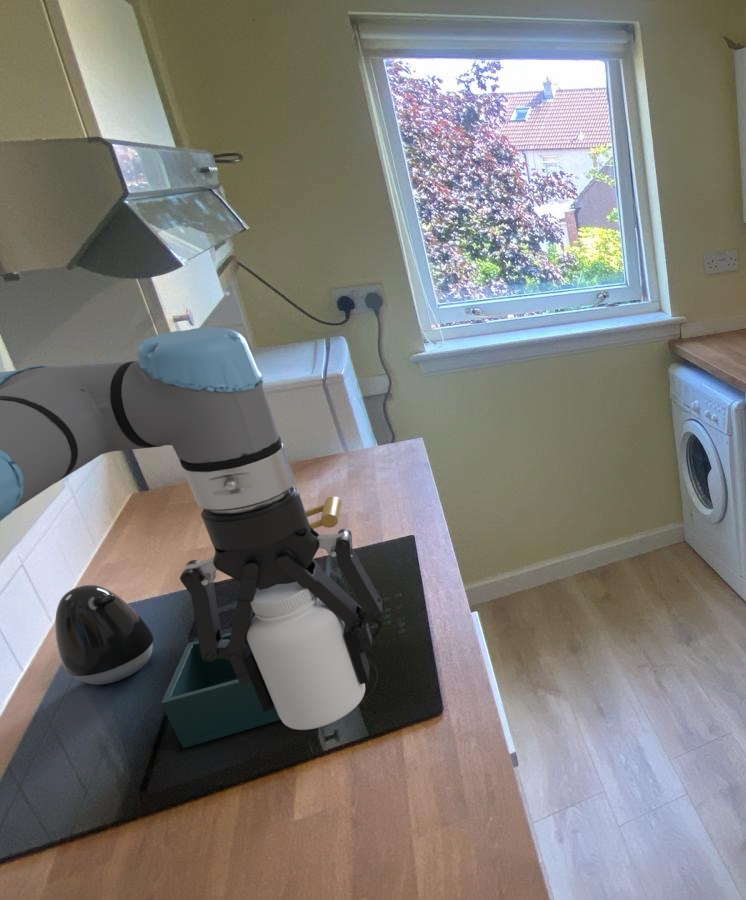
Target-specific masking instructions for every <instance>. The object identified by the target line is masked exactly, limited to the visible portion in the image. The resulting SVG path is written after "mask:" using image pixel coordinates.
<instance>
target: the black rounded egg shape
mask: <svg viewBox="0 0 746 900" xmlns="http://www.w3.org/2000/svg"><path fill="white" fill-rule="evenodd" d="M54 624H55V625H54V629H55V631H54V632H55V642H56V647H57V652H58V655H59V660H60V663H61V665H62V667H63V669H64V671H65V673H67V674H68V675H70V676H73V678H75V679H76V680H78V681H80V682H82V683H85V684H90V685H107V684H113V683H115V682H119V681H122V680H125V679H126V678H128V677H131V676H132V675H134V674H135V673H137V672H138V671H140V670H141V669H142V668H143V667H144V666H145V665H146V664H147V663H148V661H149V660H150V658H151V656H152V653H153V648H154V647H153V643H154V635H153V632H152V630H151V629H150V627H149V625H147V623H146V622H145V621H144V619H143V618H142V617H141V616H140V615H139V614H138V612H137V611H135V610H134V608H132V607H131V606H130V605H129V604H128V603H127V602H126V601H125V600H124V599H123V598H121V597H120V596H119V595H117V594H116V593H114V592H113V591H111V590H109V589H107V588H105V587H103V586H100V585H95V584H85V585H79V586H77V587H74V588H72V589H70V590H69V591H67V592H66V593H65V594H64V595H62V597H61V598H60V599H59V602H58V605H57V607H56V611H55V620H54Z"/></svg>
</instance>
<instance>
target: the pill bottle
mask: <svg viewBox="0 0 746 900" xmlns="http://www.w3.org/2000/svg"><path fill="white" fill-rule="evenodd" d="M251 606H252V609H253V612H252V613H254V616H252V617H251V621H250V623H249V626H248V630H247V640H248V643H249V646H250V648H251V650H252V653H253V655H254V658H255V660H256V662H257V665H258V667H259V670H260V672H261V674H262V677H263V679H264V682H265V684H266V686H267V689H268V691H269V694H270V696H271V698H272V701H273V703H274V706H275V708H276V710H277V713H278V715H279V717H280V719H281V720H280V721H281V722H282V724H284V726H286V727H288V728H290V729H293V730H297V731H298V730H300V731H306V730H313V729H314V730H315V729H318V728H322V727H325V726H327V725H330V724H332V723H334V722H337V721H338V720H340V719H343V718H344V717H345V716H347V715H348V714H350V713H351V712H353V710H354V709H355V708H356V707H358V705H359V704H360V703H361V701H362V700H363V698H364V696H365V692H366V683H364V684H360V681H359V678H358V675H357V672H356V669H355V666H354V663H353V660H352V657H351V654H350V651H349V648H348V645H347V642H346V639H345V636H344V630H345V622H344V621H343V620H342V619H341V618H339V617H338V616H337V615H336V614H335V613H334V612H333V611H332V610H331V609H330V608H328V607H327V606H326V605H325V604H324V603H323V602H322V601H321V600H320V599H319V598H317V597H316V596H315V595H314V594H313V593H312V592H311V591H310V590H309V589H305V588H303V587H302V586H301V585H300V584H299V583H297V582H293V583H289V584H277V585H274V586H272V587H270V588H267V589H262V590H259V589H258V588H257V591H256V594H255V597H254V600H253V601H251Z"/></svg>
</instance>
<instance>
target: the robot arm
mask: <svg viewBox="0 0 746 900" xmlns="http://www.w3.org/2000/svg"><path fill="white" fill-rule="evenodd" d="M136 355H137V360H130V361H120V362H119V361H117V362H104V363H103V362H101V363H90V364H89V363H88V364H74V365H73V364H72V365H59V366H54V365H53V366H52V365H48V366H46V365H35V366H28V367H25V368H23V369H16V370H6V371H0V522H1V521H3V520H4V519H5V518H6V517H8V516H9V515H10V514H12V513H13V512H15V510H17V509H18V508H20V507H21V506H23V505H24V504H26V503H28V502H29V501H30V500H33V498H35V497H37V496H38V495H39V494H41V493H42V492H44V491H45V490H47V489H48V488H50V487H51V486H54V485H55V484H57V483H58V482H60V481H62V480H63V479H65V478H66V477H68V476H69V475H71V474H72V473H74V472H76V471H77V470H79V469H81V468H82V467H84V466H85V465H87V464H89V463H90V462H92V461H94V460H95V459H96V458H98V457H100V456H101V455H104V454H107V453H112V452H120V451H121V452H122V451H130V450H140V449H141V450H142V449H150V448H151V449H152V448H161V447H163V446H172V448H173V450H174V452H175V454H176V456H177V458H178V461H179V462H180V465H181V468H182V470H183V473H184V475H185V478H186V480H187V483H188V485H189V488H190V491H191V493H192V495H193V497H194V500H195V501H196V502H195V503H196V504H197V506H198V507H199V508H201V509H202V510H201V513H200V516H201V518H202V521H203V524H204V527H205V528H206V532H207V534H208V537H209V539H210V541H211V544H212V546H213V548H214V556H213V557H211V558H210V557H209V558H208V559H205V560H201V561H200V560H199V559H198V560H197V559H192V560H190V561H188V562H187V563H186V565H185V567H184V569H183V570H182V572H181V575H180V576H179V580H180V582H181V583H182V585H183V586H184V587H185V589H186V590H187V592H188V593H189V594H190V597H191V601H192V607H193V615H194V621H195V626H196V633H197V638H198V641H199V645H200V651H201V657H202V659H203V660H204V661H214V660H215V659H216V658H223V659H227V660H229V661H230V662H231V664H232V666H233V669H234V671H235V673H236V676H237V678H238V681H239V682H240V683H241V684H243V685H244V684H248V683H252V684H253V686H254V689H255V691H256V694H257V696H258V699H259V701H260V703H261V706H262V708H263V711H264V712H265V711H268V710H272V709H273V706H274V703H273V701H272V698H271V696H270V694H269V691H268V689H267V686H266V684H265V682H264V679H263V677H262V674H261V672H260V670H259V667H258V665H257V662H256V660H255V658H254V655H253V653H252V650H251V648H250V646H249V645H248V646H246V641H247V630H248V626H249V623H250V621H251V620H252V618H253V613H254V612H253V609H252V606H251V601H253V600H254V597H255V594H256V591H257V588H258V589H259V590H262V589H267V588H270V587H272V586H274V585H277V584H289V583H293V582H297V583H299V584H300V585H301V586H302V587H303V588H305V589H309V590H310V591H311V592H312V593H313V594H314V595H315V596H316V597H317V598H319V599H320V600H321V601H322V602H323V603H324V604H325V605H326V606H327V607H328V608H330V609H331V610H332V611H333V612H334V613H335V614H336V615H337V616H338V617H339V618H341V619H342V620H343V621H344V623H345V630H344V636H345V639H346V642H347V645H348V648H349V651H350V654H351V657H352V660H353V663H354V666H355V669H356V672H357V675H358V678H359V681H360V684H364V683H365V684H368V683H369V682H370V681H369V680H370V671H371V670H370V669H371V668H370V664H369V661H368V657H367V654H366V652H370V651H372V647H373V636H372V633H371V630H370V626H369V622H371V621H372V620H374V621H375V620H378V619H380V618H381V617H382V612H383V611H382V609H383V600H382V598H381V596H380V595H379V592H378V591H377V589H376V587H375V585H374V584H373V582H372V580H371V578H370V577H369V574H368V572H367V571H366V569H365V568H364V566H363V564H362V562H361V561H360V559H359V557H358V555H357V554H356V552H355V550H354V549H353V537H352V536H353V535H352V531H351V530H350V529H348V528H341V529H340V530H338V531H337V533H328V534H319V533H318V532H317V531H316V530H315V529H312V527H311V526H310V521H309V519H308V517H307V516H306V513H305V511H306V510H305V507H304V503H303V501H302V498H301V495H300V492H299V489H298V488H297V487H296V486H293V485H294V484H295V475H294V473H293V471H292V468H291V465H290V462H289V461H290V460H289V459H288V455H287V453H286V450H285V446H284V444H283V442H282V439H281V437H280V434H279V431H278V428H277V425H276V422H275V418H274V415H273V412H272V409H271V405H270V402H269V399H268V396H267V392H266V390H265V386H264V380H263V378H264V377H263V374H262V373H261V372H260V370H259V368H258V366H257V364H256V361H255V359H254V356H253V355H252V352H251V349H250V347H249V345H248V342H247V340H246V338H245V337H244V336H243V335H242V334H241V333H239V331H236V330H234V329H230V328H225V327H215V326H214V327H198V328H197V327H196V328H191V329H186V330H173V331H170V332H168V331H167V332H164V333H159V334H156V335H153V336H150V337H147V338H145V339H143V340H142V341H140V342H139V344H137V348H136ZM319 549H324V550H325V551H326V553H327V555H328V556H330V557H332V558H336V562H337V564H338V567H339V569H340V571H341V572H342V574H343V576H344V577H345V579H346V581H347V583H348V584H349V586H350V588H351V590H352V591H353V593H354V595H355V597H356V598H357V600H358V601H359V602H357V601H356V600H354V599H353V597H351V596H350V595H349V594H348V592H346V591H345V590H344V589H343V588H342V587H341V586H340V585H338V583H336V582H335V581H334V580H333V578H331V577H330V575H328V574H327V573H326V572H325V571H324V570H323V569H322V567H321V565H320V564H319V563H318V561H316V560H315V559H314V558H315V556H316V554H317V552H318V551H319ZM218 571H219V572H221V573H223V574H225V575H227V576H228V577H230V578H232V579H234V580H236V581H238V582H240V583H239V589H238V594H237V598H236V599H237V602H236V606H235V612H234V616H233V621H232V626H231V631H230V633H231V636H230V640H222V635H223V634H222V629H221V621H220V615H219V609H218V602H217V597H216V595H217V594H216V589H215V584H214V581H215V579H216V578H217V572H218ZM359 603H360V604H359Z"/></svg>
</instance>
